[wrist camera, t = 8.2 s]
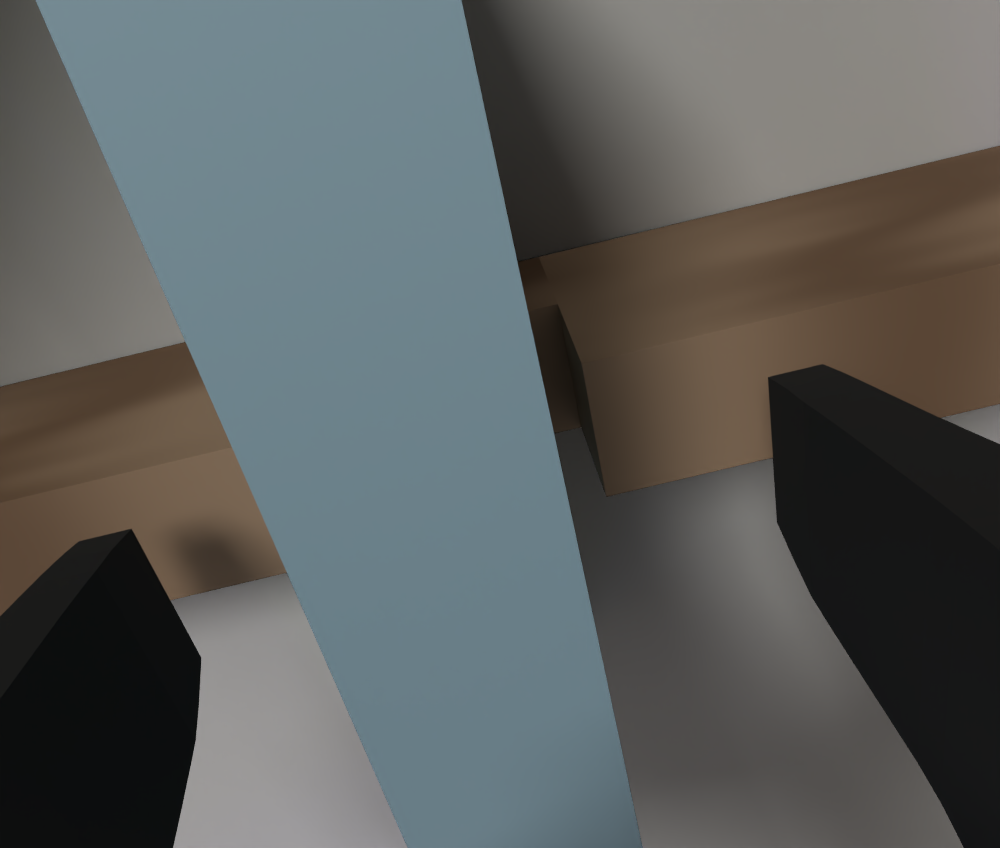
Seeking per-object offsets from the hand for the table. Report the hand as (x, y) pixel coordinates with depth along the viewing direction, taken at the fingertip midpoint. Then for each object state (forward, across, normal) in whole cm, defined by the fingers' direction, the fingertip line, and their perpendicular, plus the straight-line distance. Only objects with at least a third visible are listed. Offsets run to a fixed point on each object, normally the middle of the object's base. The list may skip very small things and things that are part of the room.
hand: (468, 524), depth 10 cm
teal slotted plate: (+5, 0, 0) cm, 5 cm away
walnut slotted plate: (+5, 0, 0) cm, 5 cm away
